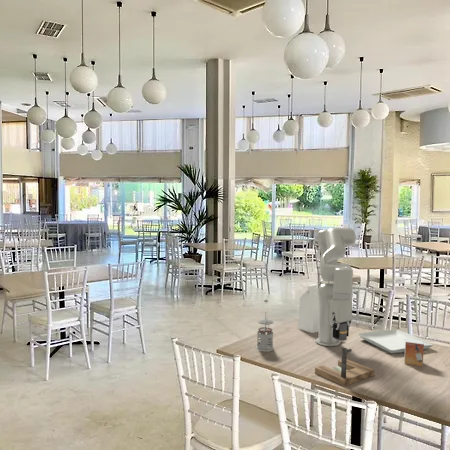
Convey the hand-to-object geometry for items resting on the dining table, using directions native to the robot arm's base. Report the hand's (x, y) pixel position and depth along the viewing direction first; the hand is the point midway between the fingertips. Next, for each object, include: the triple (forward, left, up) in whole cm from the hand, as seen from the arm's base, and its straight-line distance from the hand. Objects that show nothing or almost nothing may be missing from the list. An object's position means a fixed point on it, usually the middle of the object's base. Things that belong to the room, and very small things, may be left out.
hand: (340, 336), depth 195 cm
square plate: (-54, -9, -17) cm, 57 cm away
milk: (-37, -52, -16) cm, 66 cm away
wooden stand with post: (0, +3, -16) cm, 16 cm away
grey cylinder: (0, 0, -1) cm, 1 cm away
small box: (-38, +12, -16) cm, 43 cm away
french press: (+7, -42, -16) cm, 46 cm away
